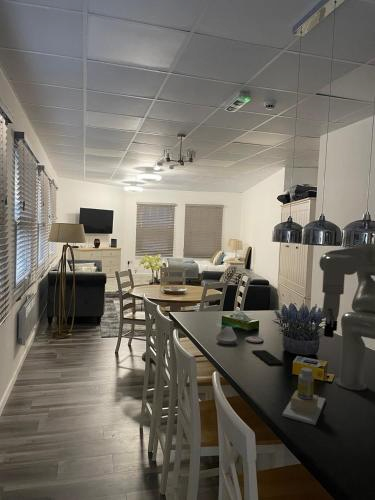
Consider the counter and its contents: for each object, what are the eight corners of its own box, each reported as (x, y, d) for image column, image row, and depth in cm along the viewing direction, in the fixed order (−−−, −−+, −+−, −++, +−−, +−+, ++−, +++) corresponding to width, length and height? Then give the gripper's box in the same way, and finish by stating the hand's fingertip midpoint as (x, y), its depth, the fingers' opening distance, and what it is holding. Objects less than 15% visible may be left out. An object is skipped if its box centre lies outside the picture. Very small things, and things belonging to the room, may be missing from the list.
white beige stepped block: (296, 393, 149) (297, 381, 149) (325, 401, 144) (326, 387, 144) (282, 415, 130) (283, 401, 130) (315, 425, 125) (316, 410, 124)
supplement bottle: (309, 393, 138) (311, 367, 137) (315, 399, 133) (317, 372, 132) (295, 392, 138) (297, 366, 137) (300, 399, 132) (302, 371, 132)
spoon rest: (235, 347, 207) (236, 335, 207) (214, 345, 209) (215, 332, 209) (238, 336, 230) (239, 325, 230) (219, 334, 232) (220, 323, 232)
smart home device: (268, 363, 180) (251, 350, 199) (268, 366, 180) (251, 353, 199) (284, 362, 182) (265, 349, 201) (283, 366, 182) (265, 352, 202)
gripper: (326, 284, 150) (323, 326, 151) (318, 291, 135) (316, 337, 136) (346, 286, 146) (343, 329, 147) (340, 293, 131) (338, 341, 132)
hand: (330, 333), depth 142 cm, fingers open, 9 cm apart
